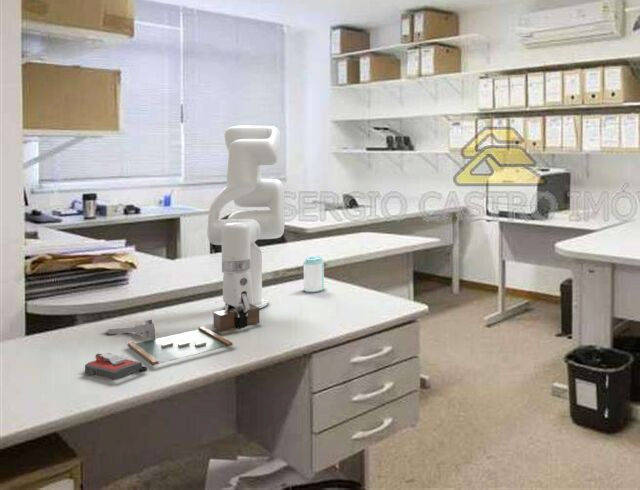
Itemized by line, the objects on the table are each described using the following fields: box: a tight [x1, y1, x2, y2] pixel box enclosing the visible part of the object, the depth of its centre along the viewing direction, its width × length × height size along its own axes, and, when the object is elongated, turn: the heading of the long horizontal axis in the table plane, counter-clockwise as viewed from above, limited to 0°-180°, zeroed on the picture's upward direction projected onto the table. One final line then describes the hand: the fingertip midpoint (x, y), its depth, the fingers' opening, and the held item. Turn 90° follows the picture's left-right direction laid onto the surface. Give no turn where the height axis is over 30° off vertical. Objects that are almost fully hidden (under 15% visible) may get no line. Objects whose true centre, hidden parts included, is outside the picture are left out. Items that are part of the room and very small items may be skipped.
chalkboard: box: [127, 326, 233, 366], centre depth 149 cm, size 20×18×2 cm
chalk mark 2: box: [178, 342, 190, 347], centre depth 148 cm, size 1×2×1 cm, turn 138°
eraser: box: [212, 304, 260, 332], centre depth 165 cm, size 5×11×6 cm, turn 138°
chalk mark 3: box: [195, 342, 206, 347], centre depth 148 cm, size 1×2×1 cm, turn 137°
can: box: [303, 256, 325, 293], centre depth 209 cm, size 7×7×12 cm
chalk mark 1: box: [161, 342, 173, 347], centre depth 148 cm, size 1×2×1 cm, turn 138°
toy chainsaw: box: [84, 352, 148, 380], centre depth 134 cm, size 9×4×20 cm
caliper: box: [105, 319, 156, 340], centre depth 157 cm, size 20×1×6 cm, turn 65°
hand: (236, 327), depth 165 cm, fingers closed on eraser, 5 cm apart
